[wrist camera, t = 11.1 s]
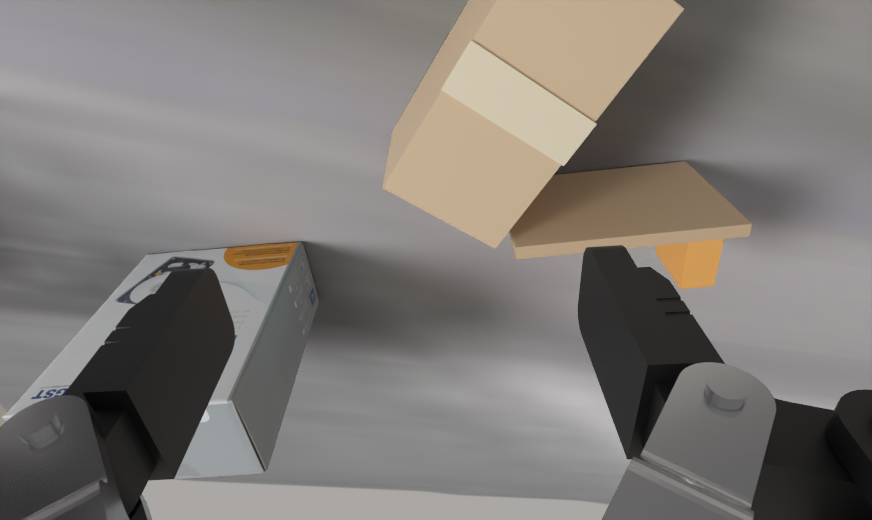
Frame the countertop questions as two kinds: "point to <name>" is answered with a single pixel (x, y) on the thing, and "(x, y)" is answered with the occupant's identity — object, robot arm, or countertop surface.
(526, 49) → the carton
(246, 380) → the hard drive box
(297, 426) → the countertop surface
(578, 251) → the flap
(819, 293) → the countertop surface
